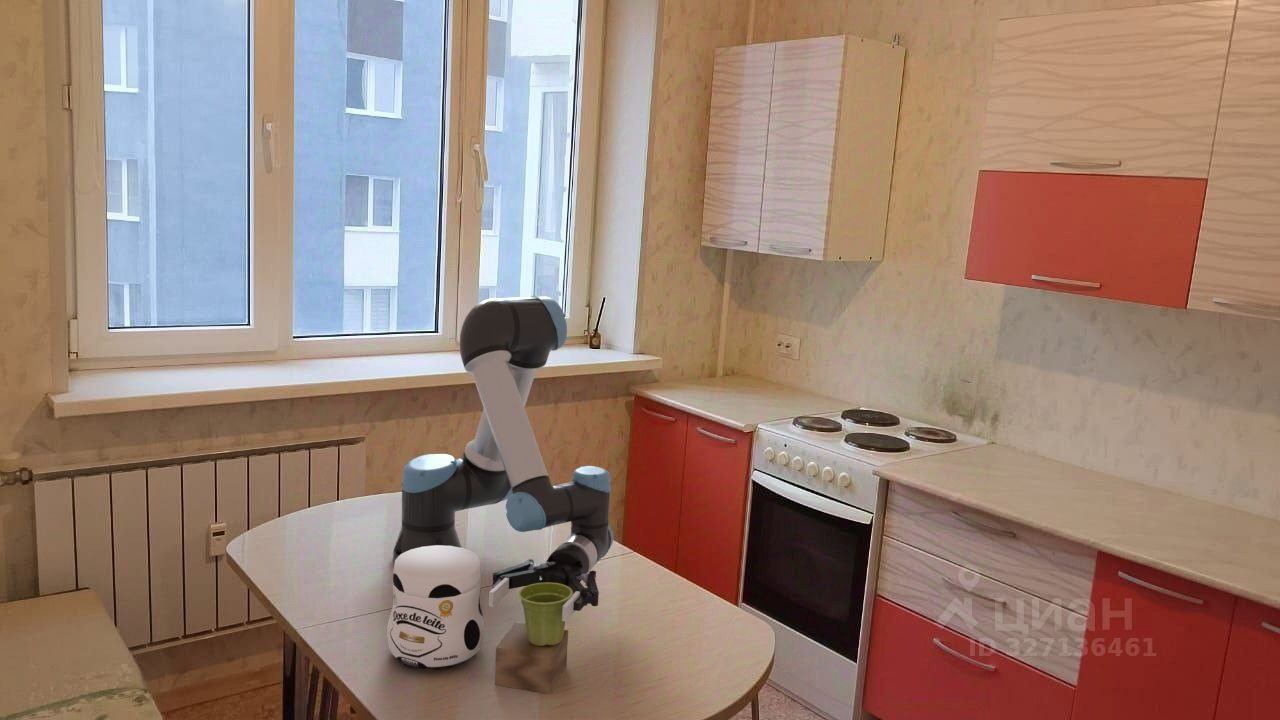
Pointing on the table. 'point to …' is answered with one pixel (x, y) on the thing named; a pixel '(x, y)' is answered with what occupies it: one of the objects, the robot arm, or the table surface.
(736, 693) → the table surface
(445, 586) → the milk container
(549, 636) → the plant pot
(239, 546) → the table surface
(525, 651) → the walnut block
